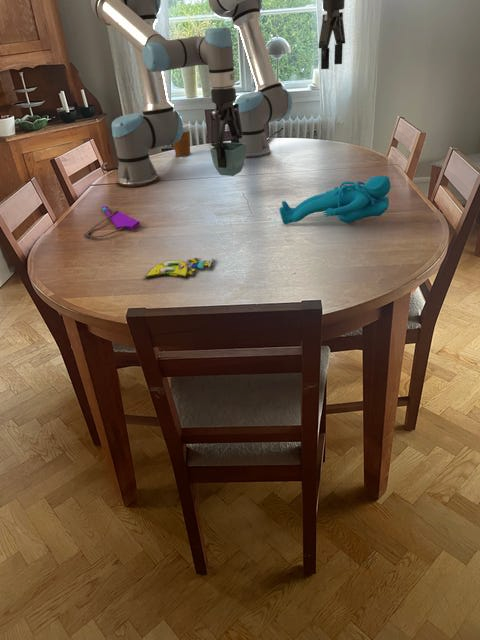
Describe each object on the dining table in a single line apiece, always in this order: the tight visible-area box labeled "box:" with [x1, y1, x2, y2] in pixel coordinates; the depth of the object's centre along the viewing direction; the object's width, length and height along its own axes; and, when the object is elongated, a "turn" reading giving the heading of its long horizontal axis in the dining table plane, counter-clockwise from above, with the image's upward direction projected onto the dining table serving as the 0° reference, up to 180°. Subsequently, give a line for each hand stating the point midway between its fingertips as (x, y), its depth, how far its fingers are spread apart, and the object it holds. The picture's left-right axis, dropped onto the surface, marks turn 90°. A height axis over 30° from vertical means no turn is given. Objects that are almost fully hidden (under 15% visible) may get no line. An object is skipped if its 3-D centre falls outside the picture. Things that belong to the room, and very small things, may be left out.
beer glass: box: [172, 123, 191, 157], centre depth 210 cm, size 10×10×12 cm
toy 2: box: [278, 175, 392, 225], centre depth 133 cm, size 17×11×30 cm
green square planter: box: [209, 141, 246, 177], centre depth 156 cm, size 9×9×9 cm
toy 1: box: [145, 257, 214, 279], centre depth 117 cm, size 10×1×15 cm
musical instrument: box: [85, 205, 141, 239], centre depth 147 cm, size 24×2×20 cm
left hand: (229, 163), depth 157 cm, fingers closed on green square planter, 9 cm apart
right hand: (331, 66), depth 175 cm, fingers open, 13 cm apart
